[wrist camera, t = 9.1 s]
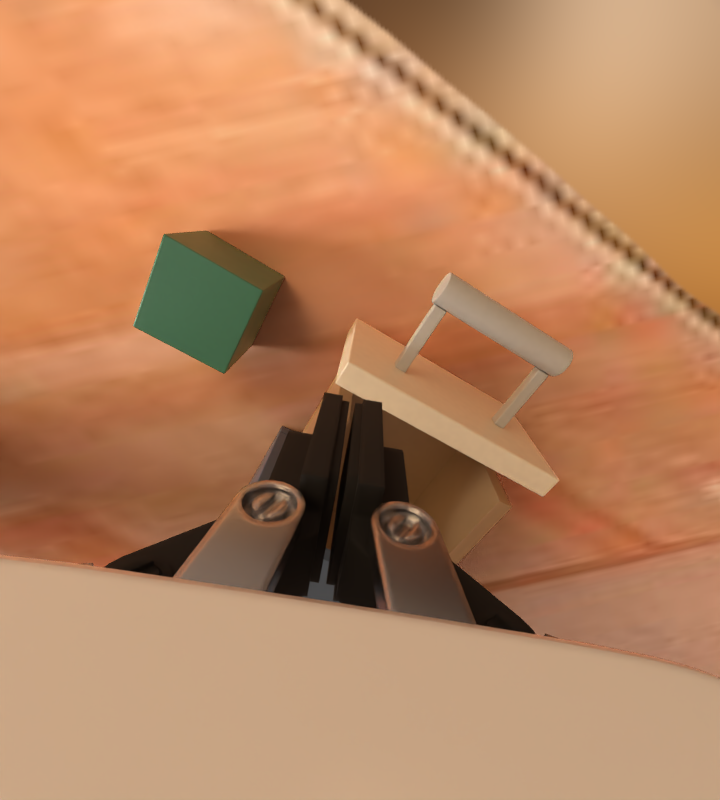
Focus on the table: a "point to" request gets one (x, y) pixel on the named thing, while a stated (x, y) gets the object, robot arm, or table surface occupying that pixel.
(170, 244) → the block
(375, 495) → the robot arm
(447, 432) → the drawer
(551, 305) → the table surface
